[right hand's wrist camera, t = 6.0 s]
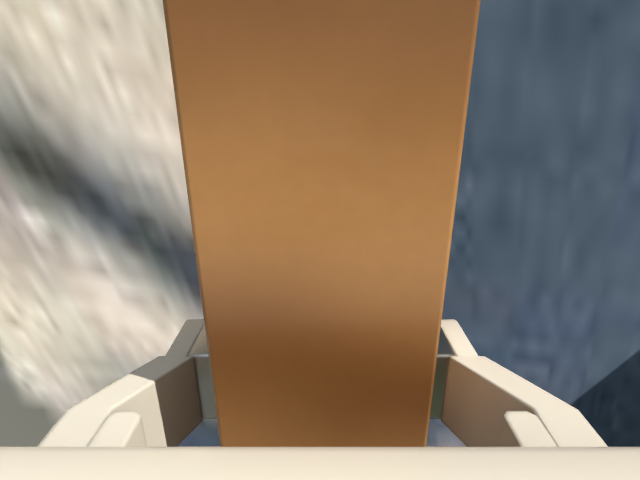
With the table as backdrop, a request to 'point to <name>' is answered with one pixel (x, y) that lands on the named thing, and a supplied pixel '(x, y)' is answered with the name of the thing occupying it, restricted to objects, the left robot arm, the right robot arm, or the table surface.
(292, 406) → the beam
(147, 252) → the table surface
